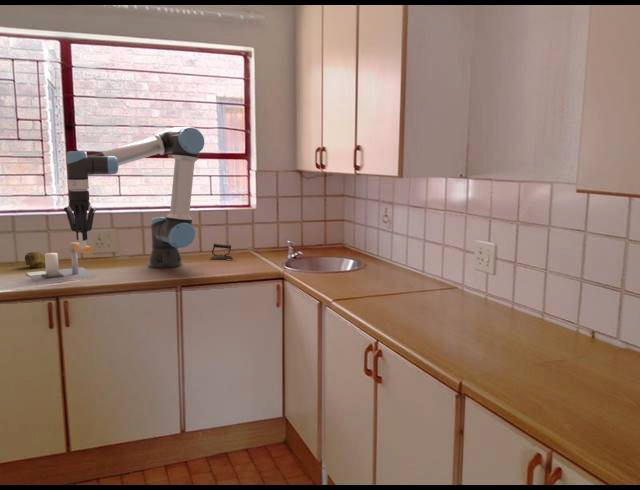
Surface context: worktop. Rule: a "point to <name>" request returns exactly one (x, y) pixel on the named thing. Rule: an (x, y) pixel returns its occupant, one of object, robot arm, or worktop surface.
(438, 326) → the worktop surface
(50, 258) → the plug
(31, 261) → the potato
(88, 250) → the orange bar
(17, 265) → the worktop surface
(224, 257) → the clothes iron
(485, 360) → the worktop surface
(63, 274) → the white stand
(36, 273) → the pad
